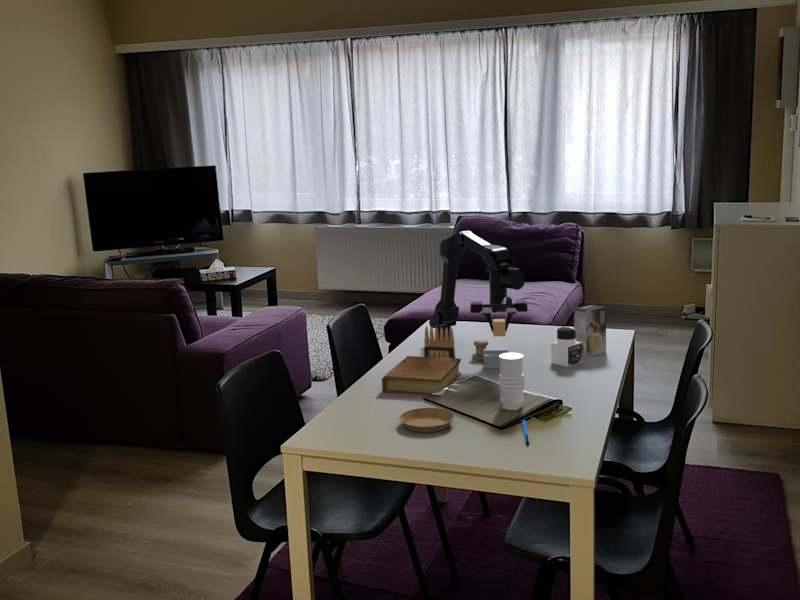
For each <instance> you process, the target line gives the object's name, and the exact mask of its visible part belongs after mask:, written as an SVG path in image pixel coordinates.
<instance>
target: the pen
mask: <svg viewBox="0 0 800 600" xmlns="http://www.w3.org/2000/svg"><path fill="white" fill-rule="evenodd" d="M526 422H527V421H526V420H525V419H524V420H523V419H522V422H521V423H522V430H523V436H524V440H525V445H526V446H527V447H530V446H529V445H530V439H529V434H528V428H527V423H526Z"/></svg>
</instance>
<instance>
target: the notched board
mask: <svg viewBox="0 0 800 600" xmlns="http://www.w3.org/2000/svg"><path fill="white" fill-rule="evenodd" d="M503 353H509V348H486V349H484V360H483V368H484V369H500V358H499V355H500V354H503Z"/></svg>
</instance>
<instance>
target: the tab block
mask: <svg viewBox="0 0 800 600" xmlns="http://www.w3.org/2000/svg"><path fill="white" fill-rule="evenodd" d="M505 322H506V318H494V319H493V318H492V323H493V332H492V334H493V335H492V336H493V337H506V333H507V332H505Z"/></svg>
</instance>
